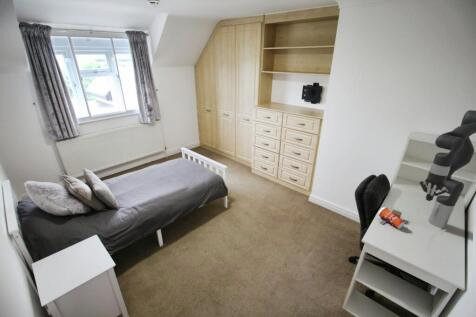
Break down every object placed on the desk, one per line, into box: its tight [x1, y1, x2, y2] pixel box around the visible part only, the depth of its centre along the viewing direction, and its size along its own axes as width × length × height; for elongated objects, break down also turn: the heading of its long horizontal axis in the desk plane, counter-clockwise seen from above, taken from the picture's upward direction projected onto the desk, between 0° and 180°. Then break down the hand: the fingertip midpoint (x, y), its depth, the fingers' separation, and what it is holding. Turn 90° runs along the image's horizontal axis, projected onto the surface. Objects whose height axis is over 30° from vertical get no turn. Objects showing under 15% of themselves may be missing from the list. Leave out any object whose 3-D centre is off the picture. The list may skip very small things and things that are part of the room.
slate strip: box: [379, 219, 388, 225], centre depth 149 cm, size 8×2×1 cm, turn 118°
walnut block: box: [391, 208, 403, 218], centre depth 151 cm, size 5×5×5 cm
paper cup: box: [377, 207, 405, 230], centre depth 147 cm, size 8×8×14 cm
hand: (428, 200), depth 124 cm, fingers closed
